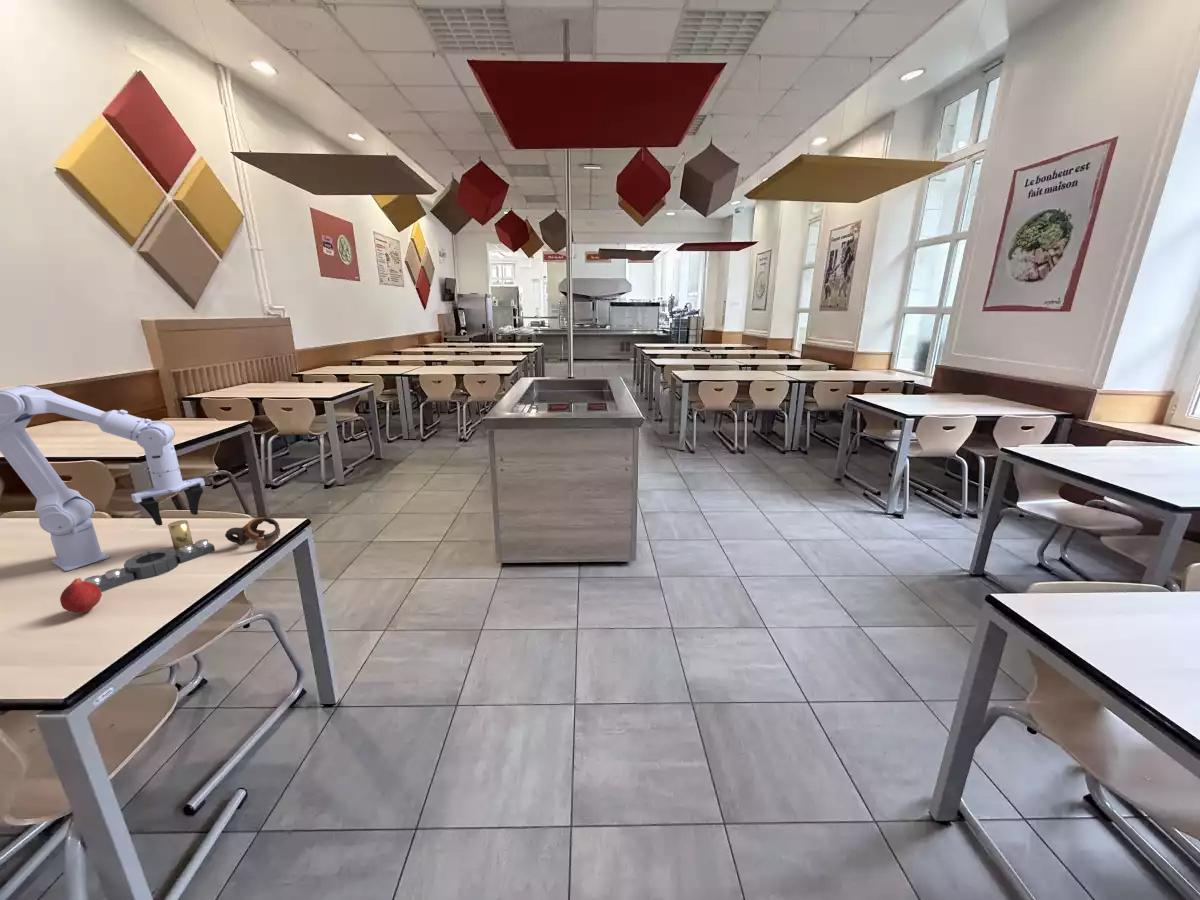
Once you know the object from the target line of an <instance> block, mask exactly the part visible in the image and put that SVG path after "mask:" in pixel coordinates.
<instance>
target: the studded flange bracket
mask: <svg viewBox="0 0 1200 900" xmlns="http://www.w3.org/2000/svg"><path fill="white" fill-rule="evenodd" d="M214 552H216V548H215V544H213V543H210V542H209V539H206V538H204V539H203V538H202V539H200V540H197V541H195V543H193V545H184V546H181V547H180V548H179V549H178V550H174V548H158V549H153V550H149V551H145V552H141V553H139V554H136V555H134V556H132V557H130V558H128V559H127V560H125V562H124V563H123V568H113V569H110V570H108V571H106V572H104V574H101V575H98V574H97V575H92V576H89V577H87V578H84V580H83V581H85V582H90V583H93V584H95V585H96V586H98V587H99V588H100V590H101V593H102V592H103V593H104V592H105V591H108V590H111V589H114V588H116V587H119V586H123V585H125V584H127V583H130V582H132V581H133V582H134V581H135V580H144V579H148V578H149V579H150V578H153V577H157V576H161V575H163V574H166V573H169V572H170V571H173V570H174V569H175V568H177V567H178V566H179V564H183V563H186V562H189V561H192V560H194V559H197V558H200V557H202V556H205V555H208V554H211V553H214Z"/></svg>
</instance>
